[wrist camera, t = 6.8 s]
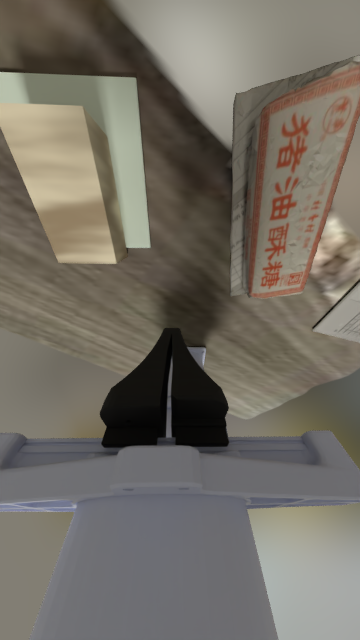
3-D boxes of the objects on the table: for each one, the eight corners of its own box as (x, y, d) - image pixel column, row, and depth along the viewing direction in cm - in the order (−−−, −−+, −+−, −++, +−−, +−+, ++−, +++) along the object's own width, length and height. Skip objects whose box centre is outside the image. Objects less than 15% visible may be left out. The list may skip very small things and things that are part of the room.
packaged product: (323, 295, 17) (239, 308, 18) (295, 282, 21) (228, 293, 22) (452, -19, 7) (255, 42, 8) (356, 66, 11) (230, 101, 12)
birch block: (116, 263, 15) (82, 105, 10) (58, 262, 15) (-11, 102, 9) (127, 256, 18) (107, 136, 13) (80, 255, 18) (39, 134, 13)
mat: (150, 247, 18) (150, 248, 18) (54, 245, 18) (52, 246, 18) (136, 80, 11) (135, 77, 11) (-18, 74, 11) (-22, 71, 11)
